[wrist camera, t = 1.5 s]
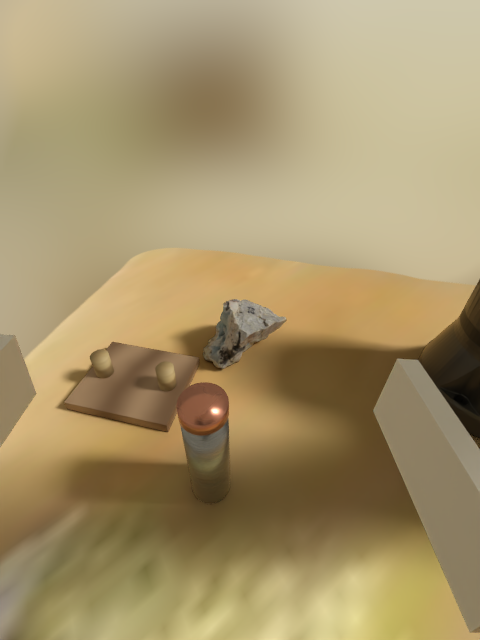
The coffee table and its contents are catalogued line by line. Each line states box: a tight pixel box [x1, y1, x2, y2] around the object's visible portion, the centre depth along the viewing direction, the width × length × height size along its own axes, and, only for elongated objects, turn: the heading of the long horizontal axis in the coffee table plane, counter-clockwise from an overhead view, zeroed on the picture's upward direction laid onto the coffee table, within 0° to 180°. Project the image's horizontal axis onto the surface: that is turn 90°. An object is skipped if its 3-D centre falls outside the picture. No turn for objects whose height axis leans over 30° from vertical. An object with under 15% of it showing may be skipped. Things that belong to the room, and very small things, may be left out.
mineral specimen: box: [203, 299, 287, 369], centre depth 43 cm, size 10×8×10 cm
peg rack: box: [64, 342, 199, 432], centre depth 38 cm, size 12×10×4 cm
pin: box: [176, 383, 230, 504], centre depth 27 cm, size 4×4×12 cm
